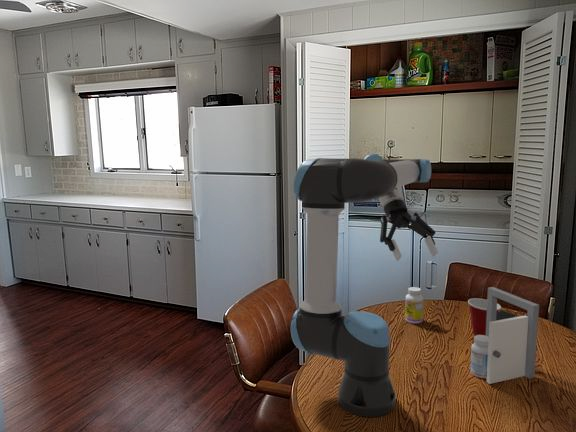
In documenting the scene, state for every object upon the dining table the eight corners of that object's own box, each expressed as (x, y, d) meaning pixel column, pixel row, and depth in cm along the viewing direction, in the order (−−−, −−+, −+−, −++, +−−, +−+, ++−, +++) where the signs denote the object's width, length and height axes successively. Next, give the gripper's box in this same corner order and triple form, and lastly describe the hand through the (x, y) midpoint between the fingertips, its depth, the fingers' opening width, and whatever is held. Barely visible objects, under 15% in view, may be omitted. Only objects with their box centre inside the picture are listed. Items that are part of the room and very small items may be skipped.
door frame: (528, 378, 129) (533, 306, 125) (484, 352, 145) (487, 287, 142) (534, 377, 129) (539, 305, 126) (489, 351, 146) (493, 286, 142)
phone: (476, 317, 172) (500, 309, 179) (476, 320, 172) (500, 312, 180) (495, 324, 165) (518, 315, 173) (495, 327, 165) (518, 318, 173)
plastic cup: (503, 342, 152) (505, 309, 150) (469, 340, 154) (471, 307, 152) (495, 329, 162) (496, 298, 160) (463, 328, 164) (465, 296, 163)
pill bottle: (488, 369, 135) (490, 334, 133) (495, 379, 129) (497, 342, 127) (467, 368, 135) (469, 333, 134) (473, 378, 129) (475, 342, 128)
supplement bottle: (401, 318, 175) (402, 287, 172) (416, 316, 176) (417, 285, 174) (411, 325, 168) (411, 292, 166) (426, 322, 170) (427, 290, 168)
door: (521, 373, 130) (525, 315, 128) (528, 377, 128) (532, 318, 125) (486, 381, 127) (489, 321, 124) (492, 386, 124) (496, 325, 121)
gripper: (419, 209, 163) (444, 258, 151) (357, 213, 155) (379, 266, 143) (428, 196, 157) (455, 246, 145) (365, 200, 149) (388, 254, 138)
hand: (417, 256), depth 144 cm, fingers open, 13 cm apart
